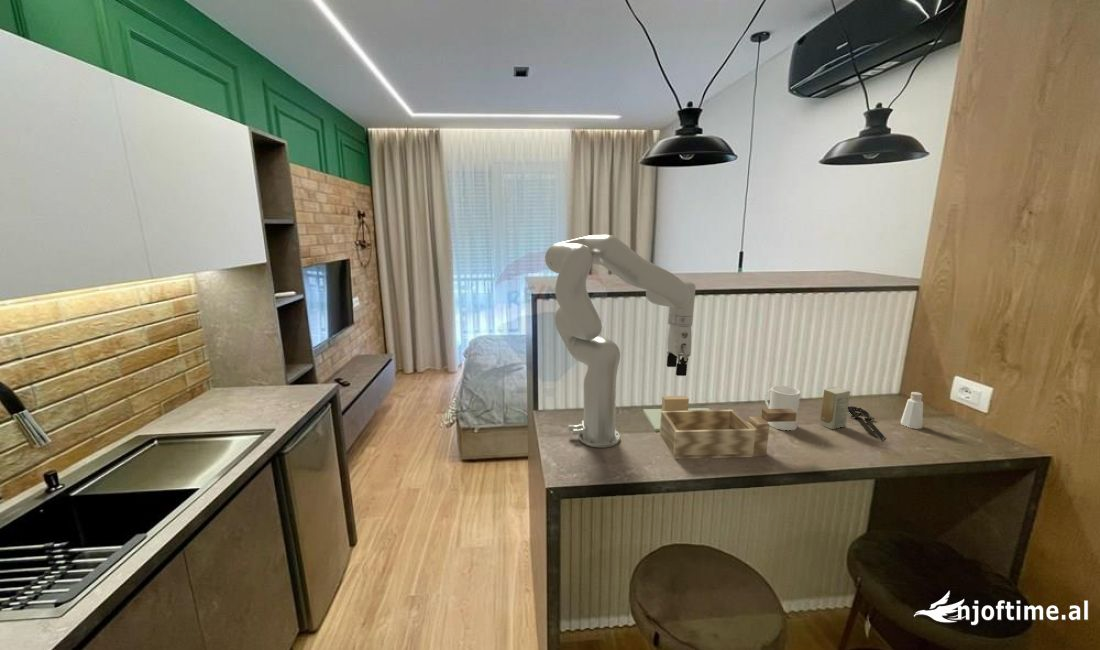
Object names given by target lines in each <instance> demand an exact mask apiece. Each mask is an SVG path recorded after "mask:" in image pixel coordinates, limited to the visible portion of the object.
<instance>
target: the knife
mask: <svg viewBox="0 0 1100 650" xmlns="http://www.w3.org/2000/svg"><path fill="white" fill-rule="evenodd" d="M854 409H855V410H854ZM856 409H859V410H856ZM860 410H861V411H860ZM849 412H850V413H851V414H852V415H851V414H850V413H849ZM848 413H849V414H850V418H854V417H855V419H857V420H856V421H858V423H860V425H861V426H862V427H863V428H864V430H865V431H866V432H867V434H869V435H870V434H871V436H873V437H875V438H877V439H878V438H879V439H880V440H881V441H884V440H885V439H886V436H885V435H884V434H883V433H882V431H880V429H879V428H876V427H877V426H876V425H875V424H874V423H873V422H872V421H871V420H875V417H870V413H869V412H868V411H867V410H864V409H863V408H861V407H857V406H852V405H851V406H850V405H848ZM860 415H864V416H866V417H862V416H860ZM863 418H864V419H865V420H864V419H863ZM855 419H854V420H855ZM865 421H866V422H867V423H866V422H865ZM868 424H869V425H868ZM871 428H872V429H873V430H874V431H873V430H872V429H871Z"/></svg>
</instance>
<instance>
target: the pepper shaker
mask: <svg viewBox="0 0 1100 650" xmlns="http://www.w3.org/2000/svg"><path fill="white" fill-rule="evenodd" d="M922 399H923V393H921V392H919V391H912V392H910V398H907V401H906V404H905V407H904V409H903V414H902V416H901V419H900V424H901V426H903V425H904V426H903V427H906V426H907V427H906V428H908V427H909V428H908V429H913V428H914V429H915V430H919V429H920V430H921V429H923V420H924V419H923V416H924V402H923V400H922Z"/></svg>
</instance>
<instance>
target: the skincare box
mask: <svg viewBox="0 0 1100 650" xmlns="http://www.w3.org/2000/svg"><path fill="white" fill-rule="evenodd" d="M850 394H851V391H850V390H848V389H845V388H843V387H838V386H834V387H830V388H824V389H823V396H822V404H821V412H820V420H819V425H820V424H821V426H823V427H825V428H827V427H828V428H827V429H829V428H830V430H831V429H833V430H836V428H837V429H841V428H840V427H842V428H845V427H847V417H848V413H849V411H848V406H849V403H850Z"/></svg>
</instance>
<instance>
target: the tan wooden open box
mask: <svg viewBox="0 0 1100 650" xmlns="http://www.w3.org/2000/svg"><path fill="white" fill-rule="evenodd" d="M769 425H770V424H769V423H768V422H767V421H765V420H764V419H763V418H762V416H748V421H746V420H745V419H744V418H742V417H741V416H740V415H739V414H738V413H737V412H736V411H735V410H733V409H710V410H690V411H661V422H660V431H659V436H660V438H661V439H662V441H663V443H664V445H665V446H666V448H667V449H668V451H669V453H670V454H671V456H672V458H673V459H674V460H678V459H679V460H680V459H681V460H683V459H684V460H687V459H690V460H691V459H718V458H719V459H722V458H724V459H725V458H727V459H729V458H753V457H766V456H767V453H768V452H767V450H768V442H769V434H770V426H769Z"/></svg>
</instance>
